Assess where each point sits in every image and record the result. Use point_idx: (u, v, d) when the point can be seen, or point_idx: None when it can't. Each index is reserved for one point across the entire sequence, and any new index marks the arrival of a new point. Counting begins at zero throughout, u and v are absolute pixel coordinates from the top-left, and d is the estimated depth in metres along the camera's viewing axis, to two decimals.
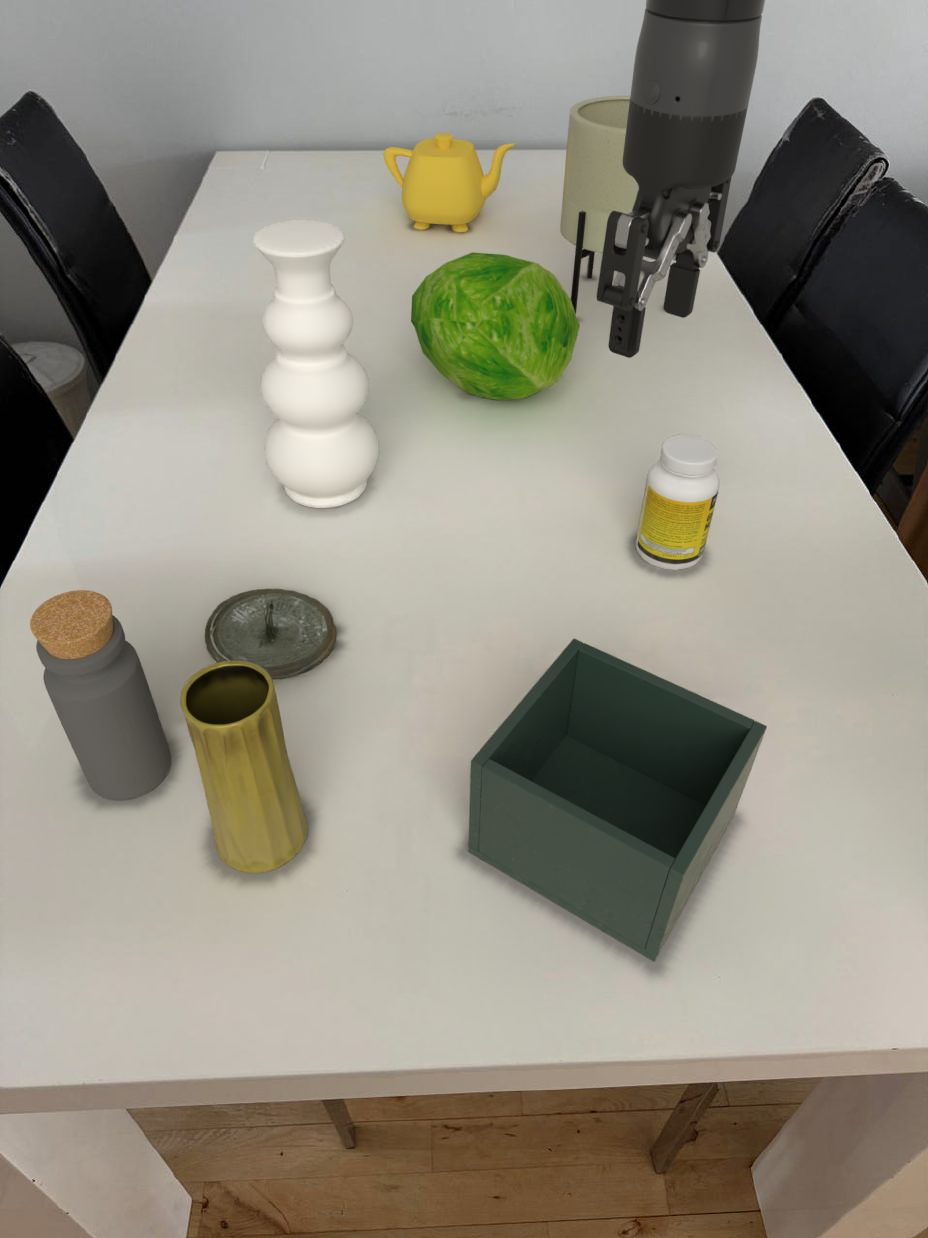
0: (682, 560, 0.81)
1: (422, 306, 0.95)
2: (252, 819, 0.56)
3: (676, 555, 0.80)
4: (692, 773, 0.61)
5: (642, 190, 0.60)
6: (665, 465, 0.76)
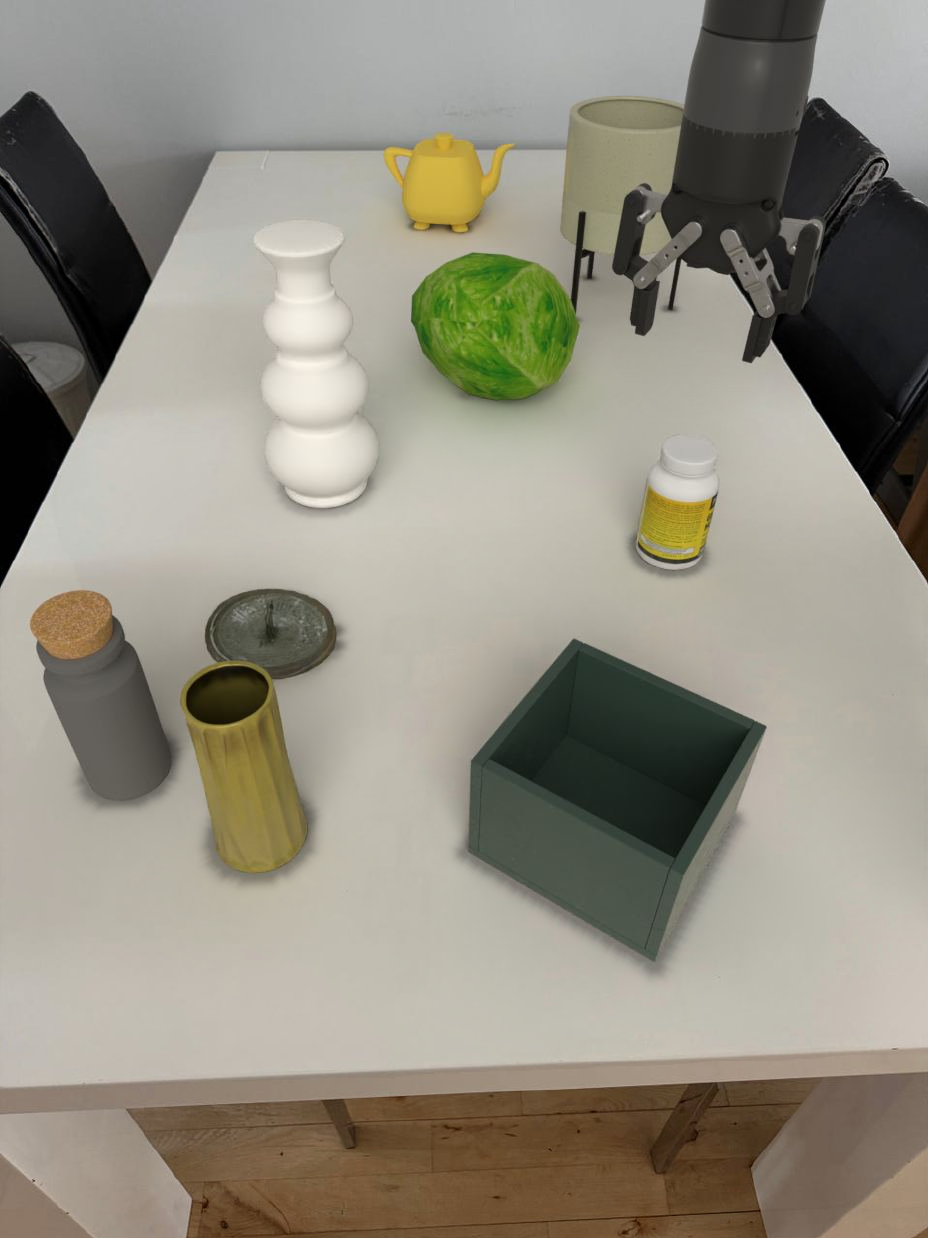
0: (682, 560, 0.81)
1: (422, 306, 0.95)
2: (252, 819, 0.56)
3: (676, 555, 0.80)
4: (692, 773, 0.61)
5: None
6: (665, 465, 0.76)
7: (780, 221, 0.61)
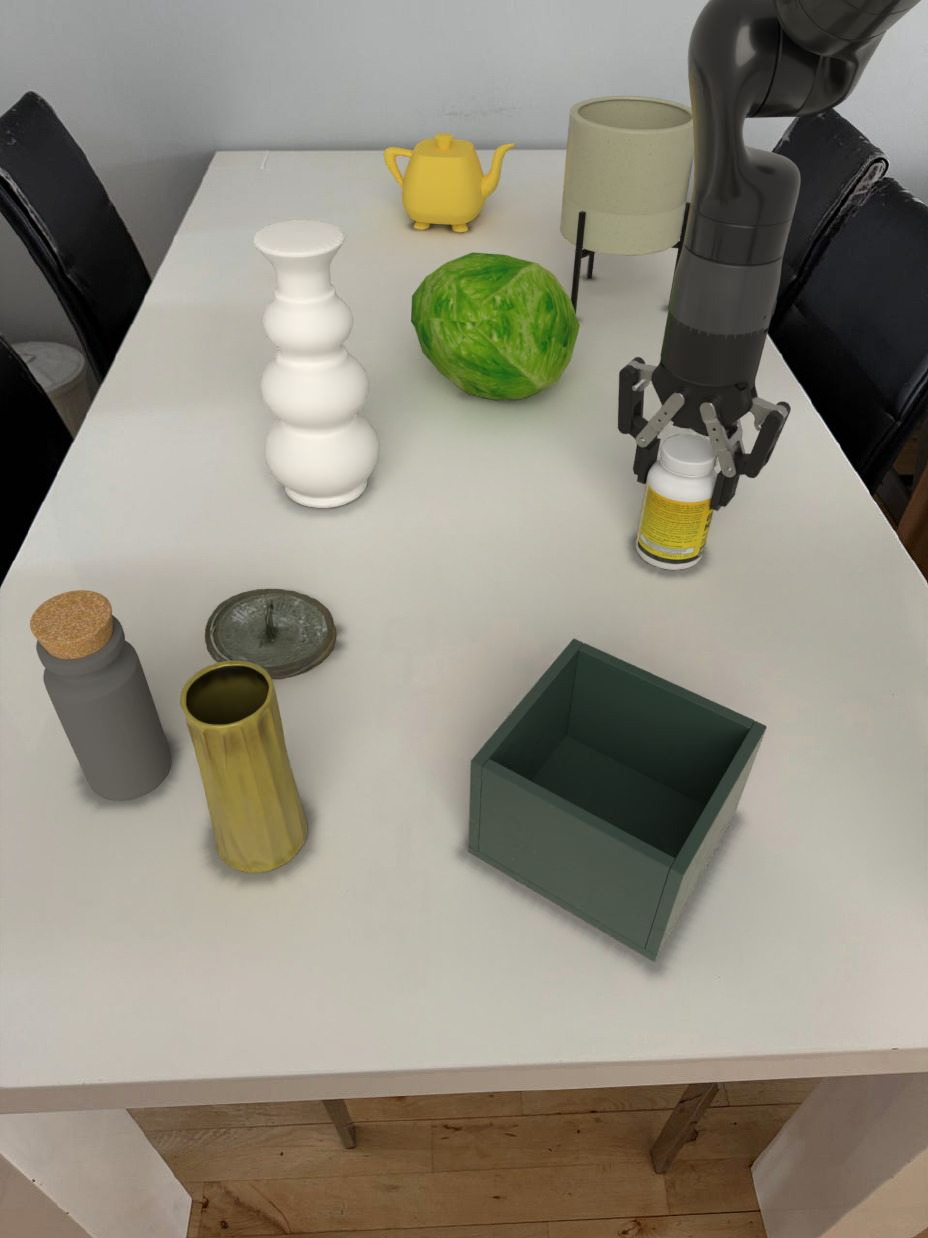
0: (682, 560, 0.81)
1: (422, 306, 0.95)
2: (252, 819, 0.56)
3: (676, 555, 0.80)
4: (692, 773, 0.61)
5: None
6: (665, 465, 0.76)
7: (752, 398, 0.70)
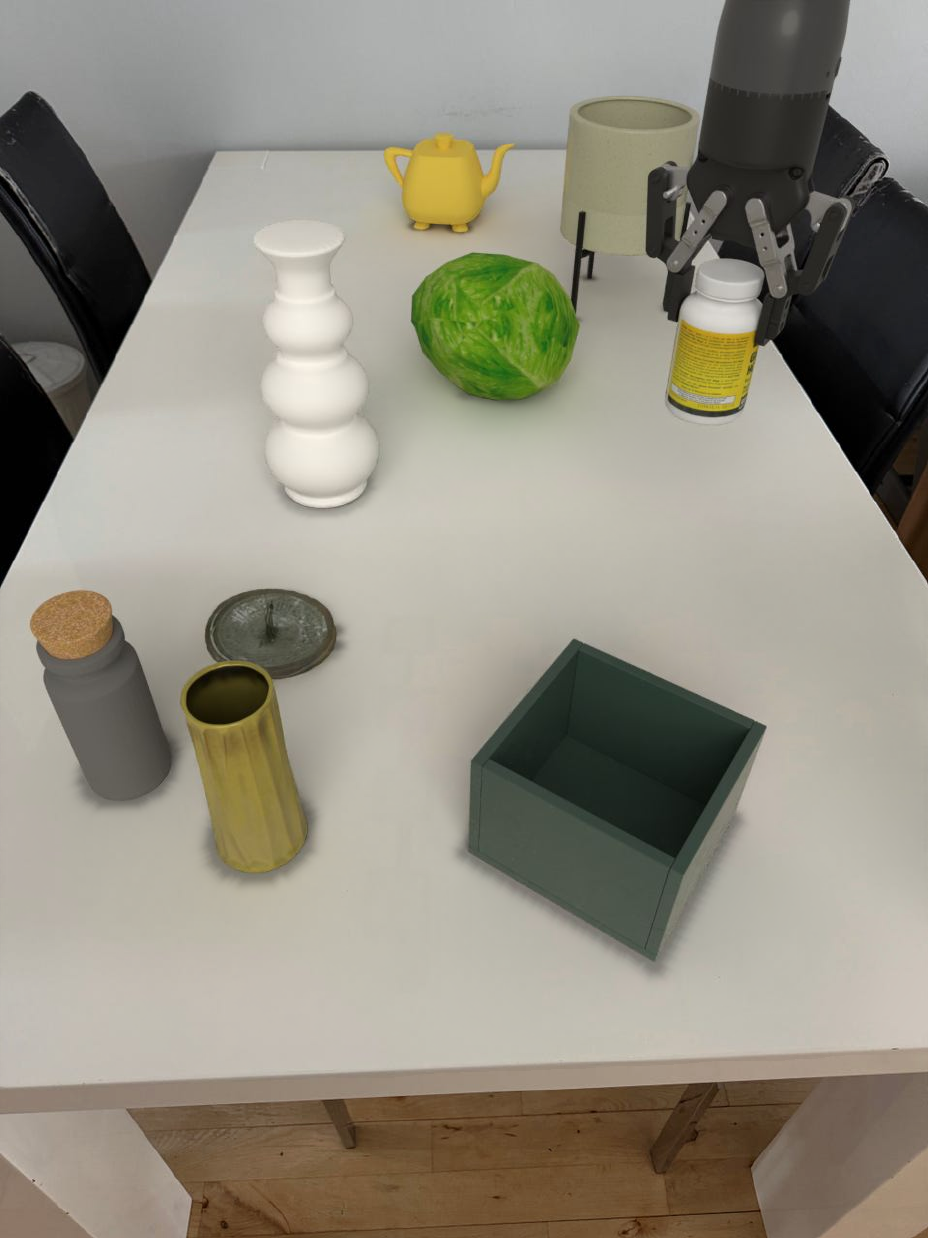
0: (720, 412, 0.69)
1: (422, 306, 0.95)
2: (252, 819, 0.56)
3: (714, 405, 0.69)
4: (692, 773, 0.61)
5: None
6: (702, 290, 0.65)
7: (809, 191, 0.59)
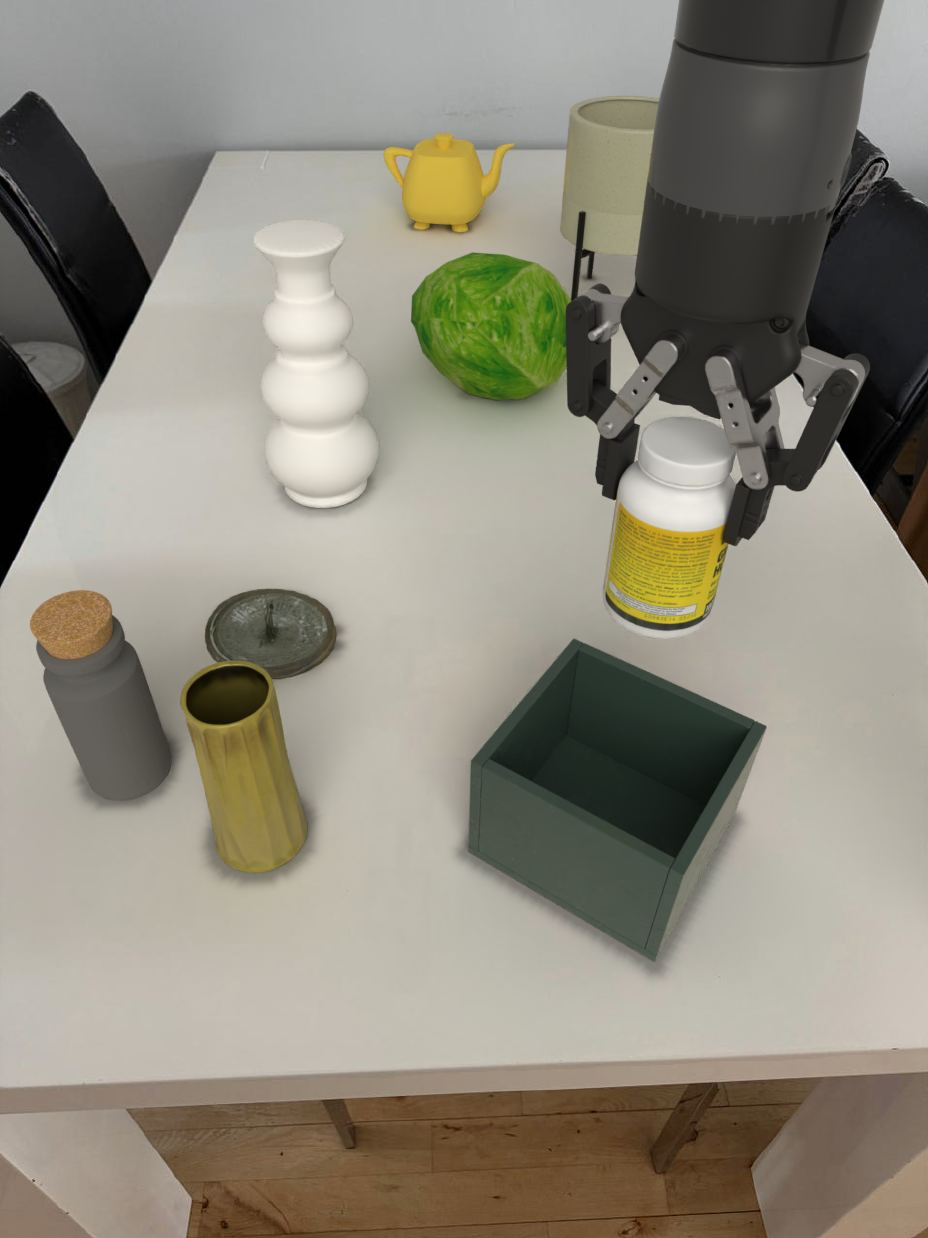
0: (677, 625, 0.49)
1: (422, 306, 0.95)
2: (252, 819, 0.56)
3: (667, 617, 0.49)
4: (692, 773, 0.61)
5: None
6: (646, 469, 0.45)
7: (800, 348, 0.39)
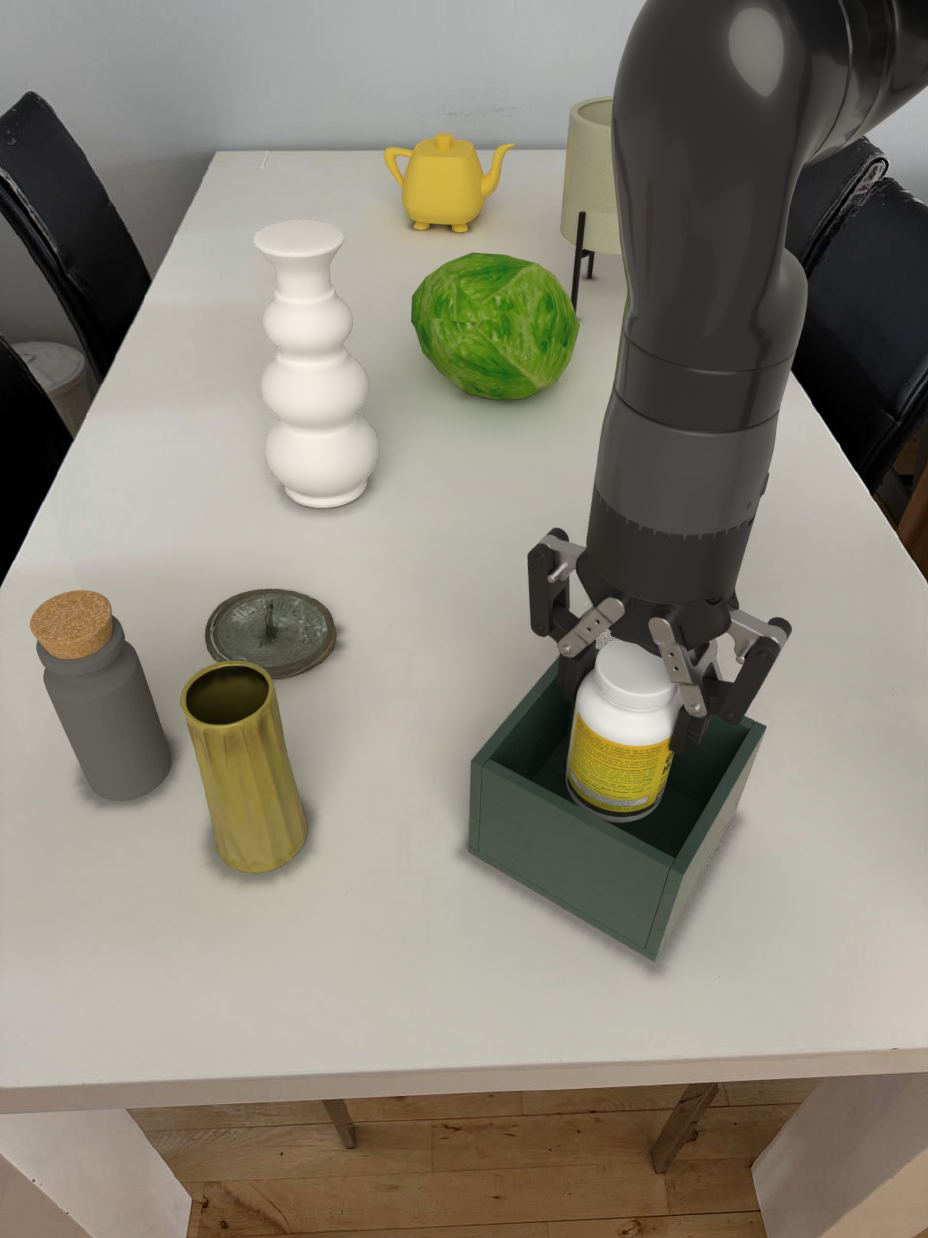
0: (631, 813, 0.54)
1: (422, 306, 0.95)
2: (252, 819, 0.56)
3: (622, 807, 0.54)
4: (692, 773, 0.61)
5: None
6: (600, 690, 0.50)
7: (730, 615, 0.44)
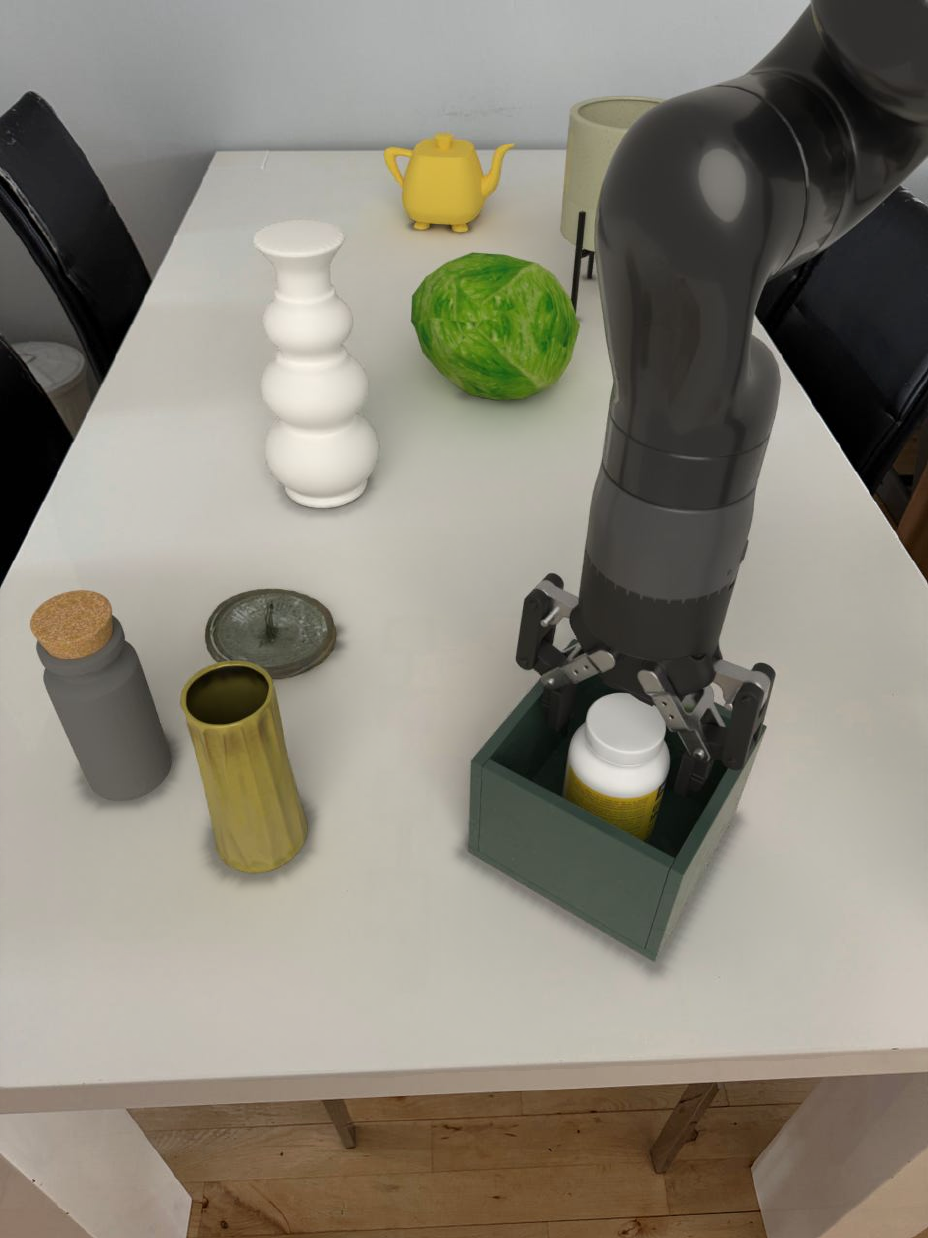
0: None
1: (422, 306, 0.95)
2: (252, 819, 0.56)
3: None
4: None
5: None
6: (590, 746, 0.53)
7: (714, 669, 0.47)
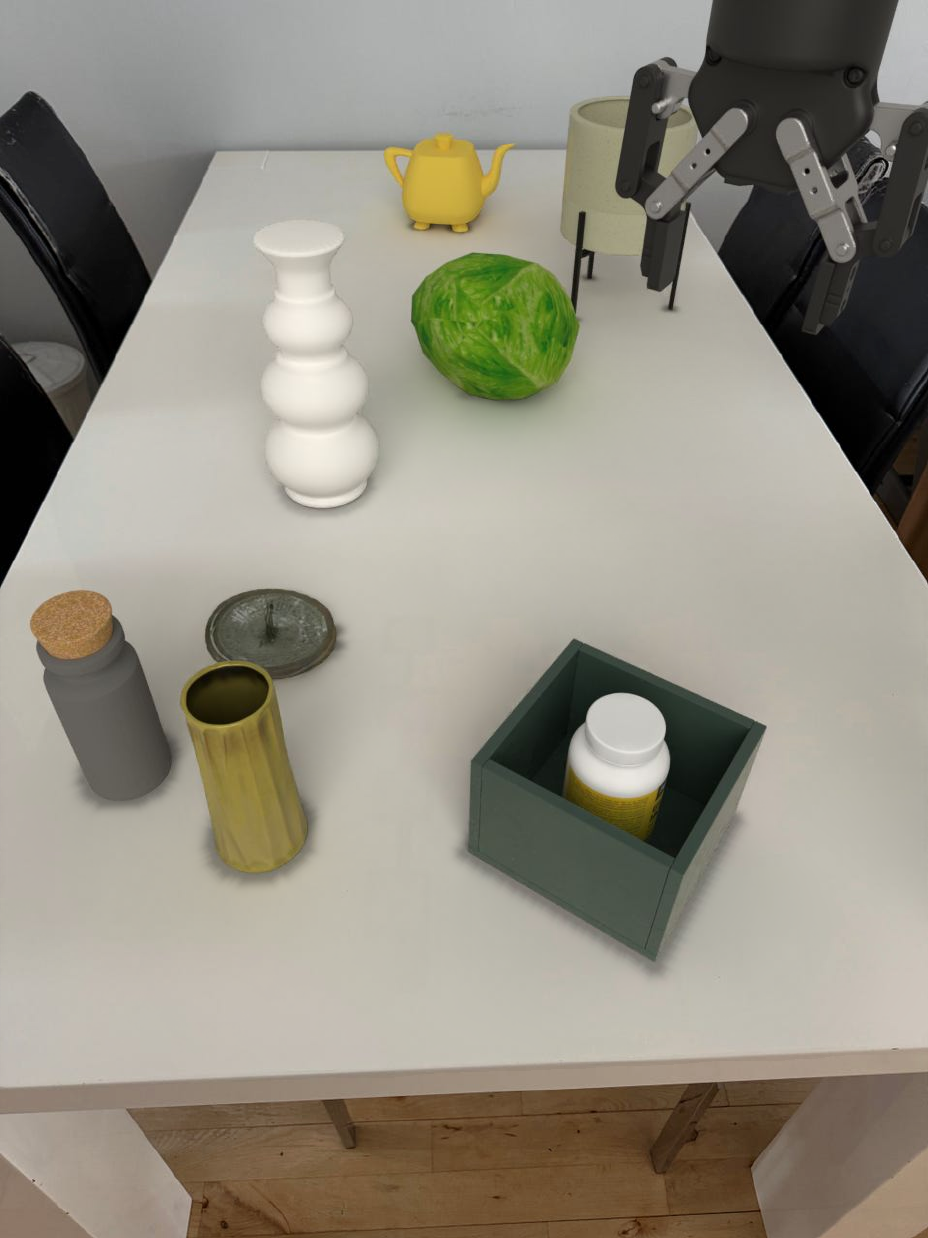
0: None
1: (422, 306, 0.95)
2: (252, 819, 0.56)
3: None
4: (692, 773, 0.61)
5: None
6: (590, 746, 0.53)
7: (873, 106, 0.39)
